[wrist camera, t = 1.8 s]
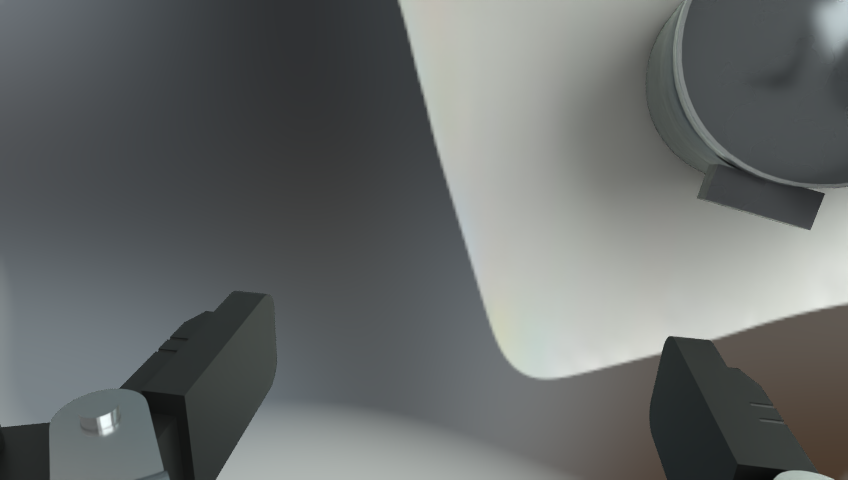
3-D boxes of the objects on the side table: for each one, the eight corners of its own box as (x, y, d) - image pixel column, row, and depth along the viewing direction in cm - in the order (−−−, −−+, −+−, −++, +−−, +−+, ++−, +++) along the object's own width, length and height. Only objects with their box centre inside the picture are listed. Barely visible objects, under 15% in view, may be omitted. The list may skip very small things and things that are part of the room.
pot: (694, -84, 32) (754, -189, 23) (977, -22, 30) (1170, -111, 21) (605, 175, 34) (628, 175, 25) (862, 251, 32) (990, 281, 23)
